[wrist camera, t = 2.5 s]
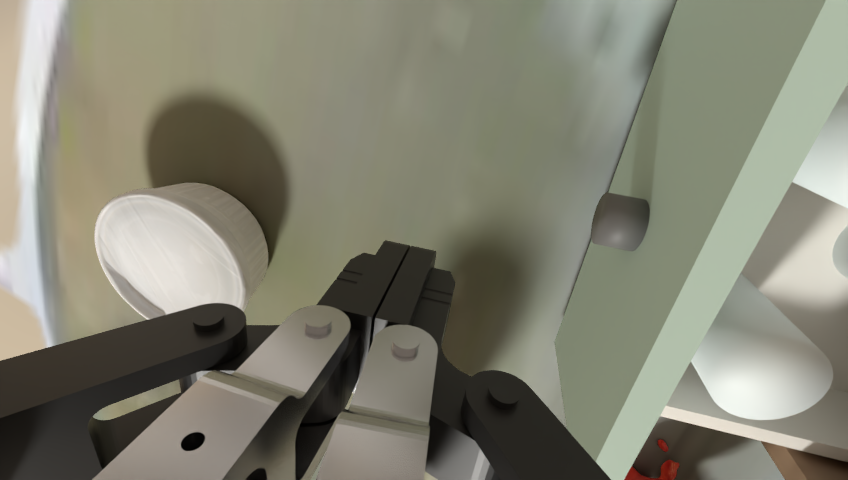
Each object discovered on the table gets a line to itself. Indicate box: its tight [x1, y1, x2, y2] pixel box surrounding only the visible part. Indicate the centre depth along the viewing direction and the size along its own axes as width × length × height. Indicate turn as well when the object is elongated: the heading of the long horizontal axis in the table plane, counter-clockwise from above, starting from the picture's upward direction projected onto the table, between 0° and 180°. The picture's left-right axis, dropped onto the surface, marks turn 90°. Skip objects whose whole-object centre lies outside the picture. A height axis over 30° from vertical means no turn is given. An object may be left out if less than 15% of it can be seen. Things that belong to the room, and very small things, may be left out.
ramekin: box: [95, 183, 268, 320], centre depth 30 cm, size 11×11×5 cm
